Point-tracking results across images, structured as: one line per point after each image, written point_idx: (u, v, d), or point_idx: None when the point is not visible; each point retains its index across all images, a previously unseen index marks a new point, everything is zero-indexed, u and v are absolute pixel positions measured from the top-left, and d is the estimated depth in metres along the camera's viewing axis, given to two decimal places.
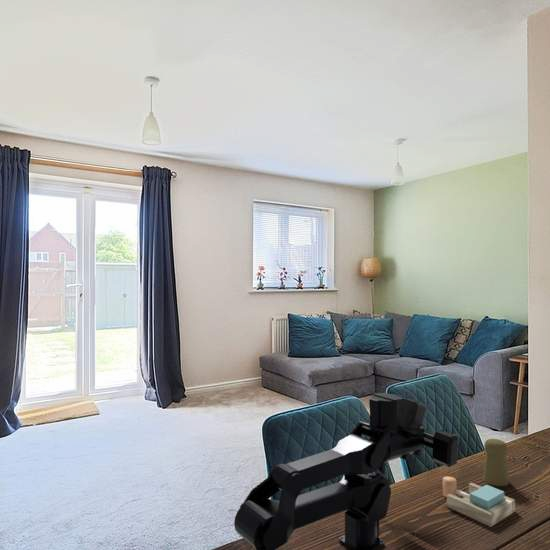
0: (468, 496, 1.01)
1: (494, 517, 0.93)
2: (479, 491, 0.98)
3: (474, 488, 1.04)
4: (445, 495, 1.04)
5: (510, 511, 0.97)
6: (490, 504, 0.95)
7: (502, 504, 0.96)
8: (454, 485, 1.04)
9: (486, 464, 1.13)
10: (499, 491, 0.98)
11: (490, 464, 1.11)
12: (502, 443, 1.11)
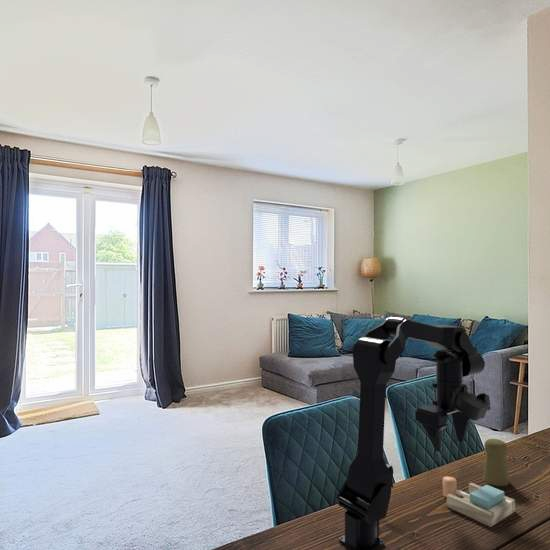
0: (468, 496, 1.01)
1: (494, 517, 0.93)
2: (479, 491, 0.98)
3: (474, 488, 1.04)
4: (445, 495, 1.04)
5: (510, 511, 0.97)
6: (490, 504, 0.95)
7: (502, 504, 0.96)
8: (454, 485, 1.04)
9: (486, 464, 1.13)
10: (499, 491, 0.98)
11: (491, 464, 1.11)
12: (502, 443, 1.11)
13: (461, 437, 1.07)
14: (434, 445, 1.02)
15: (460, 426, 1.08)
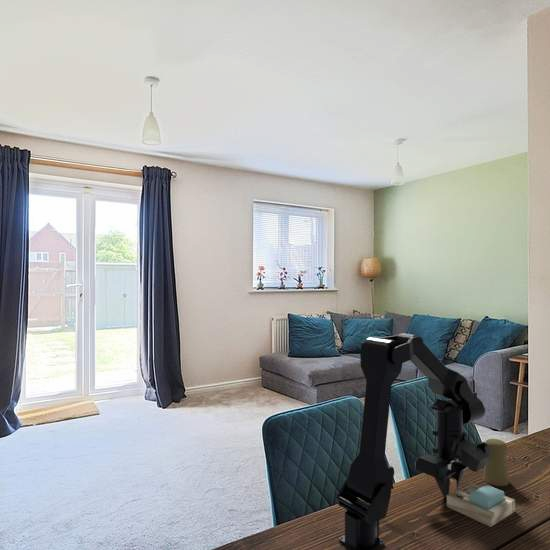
0: (468, 496, 1.01)
1: (494, 517, 0.93)
2: (479, 491, 0.98)
3: (474, 488, 1.04)
4: None
5: (510, 511, 0.97)
6: (490, 504, 0.95)
7: (502, 504, 0.96)
8: (454, 485, 1.04)
9: (486, 464, 1.13)
10: (499, 491, 0.98)
11: (490, 464, 1.11)
12: (502, 443, 1.11)
13: None
14: (442, 490, 1.04)
15: (453, 476, 1.06)
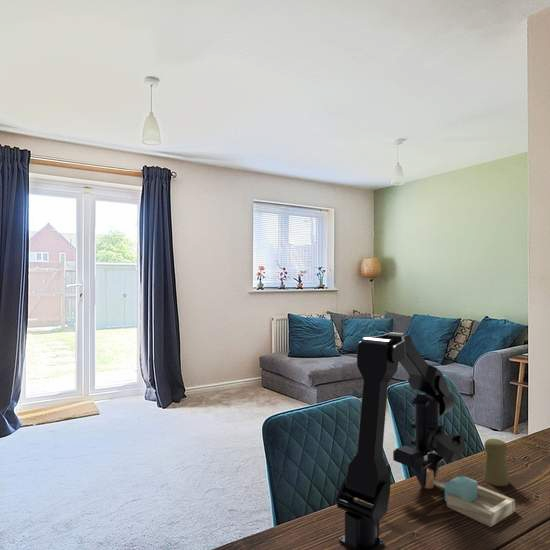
0: (444, 486, 1.06)
1: (494, 517, 0.93)
2: (454, 481, 1.03)
3: None
4: None
5: (510, 511, 0.97)
6: (464, 493, 1.00)
7: (502, 504, 0.96)
8: (431, 475, 1.09)
9: (486, 464, 1.13)
10: (473, 481, 1.03)
11: (490, 464, 1.11)
12: (502, 443, 1.11)
13: None
14: (419, 481, 1.09)
15: (431, 467, 1.11)
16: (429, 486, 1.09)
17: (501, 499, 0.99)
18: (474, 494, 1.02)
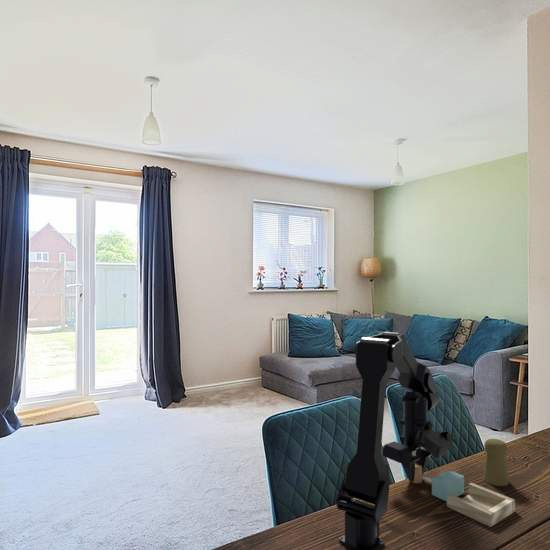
0: (431, 480, 1.09)
1: (494, 517, 0.93)
2: (441, 475, 1.06)
3: (474, 488, 1.04)
4: None
5: (510, 511, 0.97)
6: (450, 487, 1.03)
7: (502, 504, 0.96)
8: (419, 471, 1.11)
9: (486, 464, 1.13)
10: (459, 475, 1.06)
11: (490, 464, 1.11)
12: (502, 443, 1.11)
13: None
14: (408, 476, 1.12)
15: (419, 462, 1.14)
16: (417, 481, 1.11)
17: (501, 499, 0.99)
18: (460, 489, 1.05)
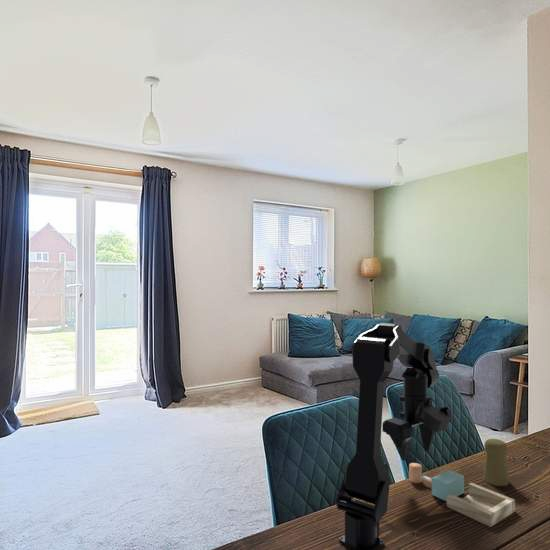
0: (431, 480, 1.09)
1: (494, 517, 0.93)
2: (440, 475, 1.06)
3: (474, 488, 1.04)
4: (411, 480, 1.12)
5: (510, 511, 0.97)
6: (450, 487, 1.03)
7: (502, 504, 0.96)
8: (419, 471, 1.11)
9: (486, 464, 1.13)
10: (459, 475, 1.06)
11: (490, 464, 1.11)
12: (502, 443, 1.11)
13: (427, 447, 1.15)
14: (400, 455, 1.10)
15: (426, 436, 1.16)
16: (417, 481, 1.11)
17: (501, 499, 0.99)
18: (460, 489, 1.05)
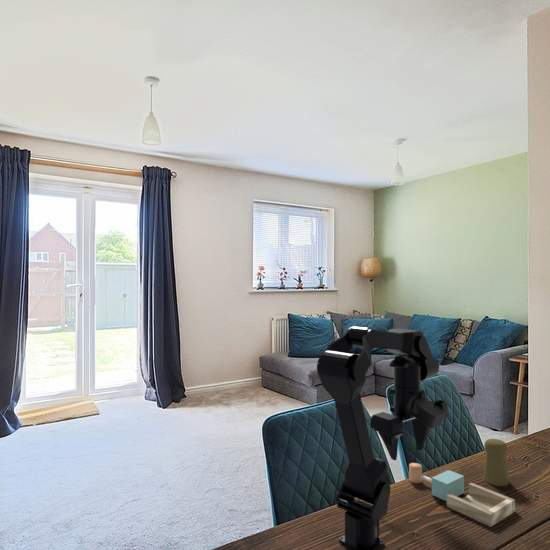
0: (431, 480, 1.09)
1: (494, 517, 0.93)
2: (440, 475, 1.06)
3: (474, 488, 1.04)
4: (411, 480, 1.12)
5: (510, 511, 0.97)
6: (450, 487, 1.03)
7: (502, 504, 0.96)
8: (419, 471, 1.11)
9: (486, 464, 1.13)
10: (459, 475, 1.06)
11: (490, 464, 1.11)
12: (502, 443, 1.11)
13: (420, 445, 1.04)
14: (390, 453, 0.99)
15: (419, 433, 1.04)
16: (417, 481, 1.11)
17: (501, 499, 0.99)
18: (460, 489, 1.05)
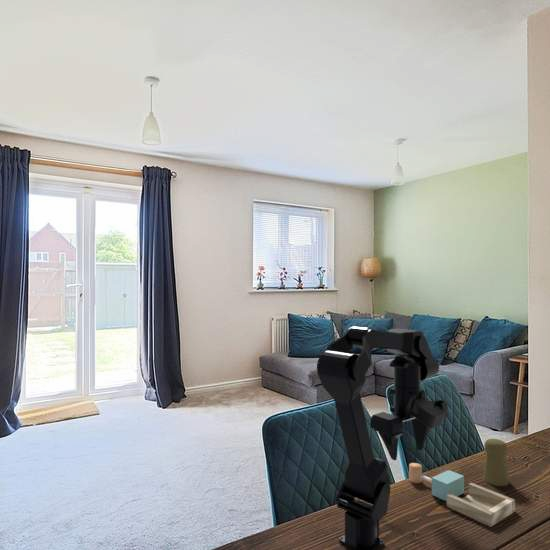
0: (431, 480, 1.09)
1: (494, 517, 0.93)
2: (440, 475, 1.06)
3: (474, 488, 1.04)
4: (411, 480, 1.12)
5: (510, 511, 0.97)
6: (450, 487, 1.03)
7: (502, 504, 0.96)
8: (419, 471, 1.11)
9: (486, 464, 1.13)
10: (459, 475, 1.06)
11: (490, 464, 1.11)
12: (502, 443, 1.11)
13: (420, 445, 1.04)
14: (390, 453, 0.99)
15: (419, 433, 1.04)
16: (417, 481, 1.11)
17: (501, 499, 0.99)
18: (460, 489, 1.05)
